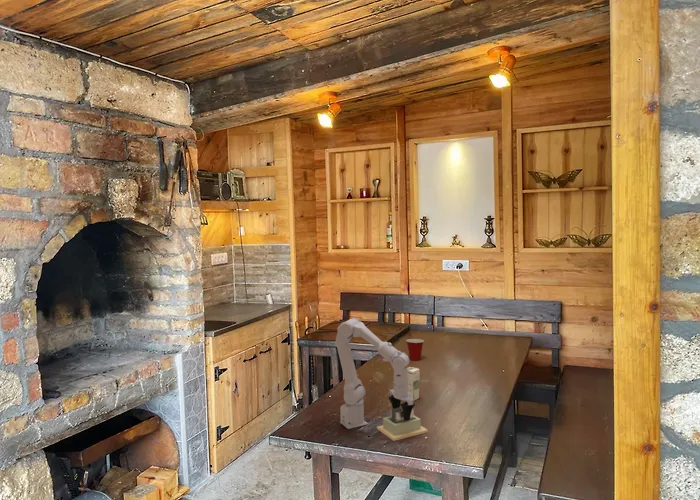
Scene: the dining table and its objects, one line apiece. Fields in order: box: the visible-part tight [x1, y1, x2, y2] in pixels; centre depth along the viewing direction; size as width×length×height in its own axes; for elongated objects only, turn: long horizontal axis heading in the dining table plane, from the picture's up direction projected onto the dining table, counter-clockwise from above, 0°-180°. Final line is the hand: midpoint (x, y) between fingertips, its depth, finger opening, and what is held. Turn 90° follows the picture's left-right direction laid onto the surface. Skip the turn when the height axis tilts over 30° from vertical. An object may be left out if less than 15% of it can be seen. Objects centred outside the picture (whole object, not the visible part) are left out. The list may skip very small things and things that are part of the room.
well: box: [376, 414, 429, 442], centre depth 211 cm, size 16×13×5 cm
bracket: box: [390, 406, 415, 424], centre depth 211 cm, size 8×4×8 cm, turn 116°
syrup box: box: [408, 366, 421, 403], centre depth 246 cm, size 6×6×14 cm
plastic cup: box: [405, 338, 425, 362], centre depth 311 cm, size 11×11×12 cm
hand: (401, 416), depth 211 cm, fingers open, 7 cm apart
